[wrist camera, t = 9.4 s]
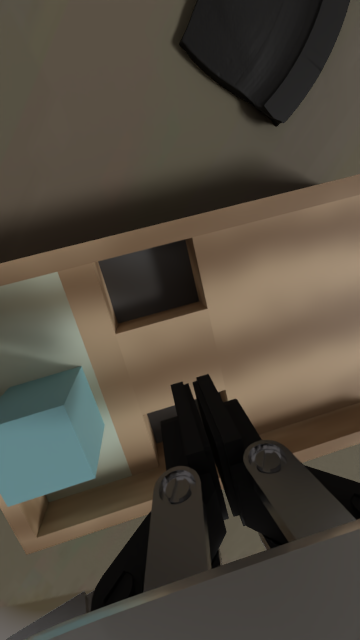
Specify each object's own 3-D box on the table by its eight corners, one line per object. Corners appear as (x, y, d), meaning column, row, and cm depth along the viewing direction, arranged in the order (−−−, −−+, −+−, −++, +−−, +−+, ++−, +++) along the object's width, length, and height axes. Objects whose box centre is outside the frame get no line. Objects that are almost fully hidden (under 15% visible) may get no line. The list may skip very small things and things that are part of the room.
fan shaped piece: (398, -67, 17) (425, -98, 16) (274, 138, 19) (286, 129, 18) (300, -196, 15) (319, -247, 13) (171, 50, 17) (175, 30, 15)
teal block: (9, 387, 17) (-34, 434, 13) (81, 366, 17) (63, 404, 13) (37, 446, 18) (7, 506, 14) (104, 425, 19) (95, 478, 14)
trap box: (-45, 279, 18) (-121, 293, 13) (327, 186, 20) (396, 165, 15) (52, 483, 23) (26, 554, 17) (344, 390, 25) (400, 429, 19)
